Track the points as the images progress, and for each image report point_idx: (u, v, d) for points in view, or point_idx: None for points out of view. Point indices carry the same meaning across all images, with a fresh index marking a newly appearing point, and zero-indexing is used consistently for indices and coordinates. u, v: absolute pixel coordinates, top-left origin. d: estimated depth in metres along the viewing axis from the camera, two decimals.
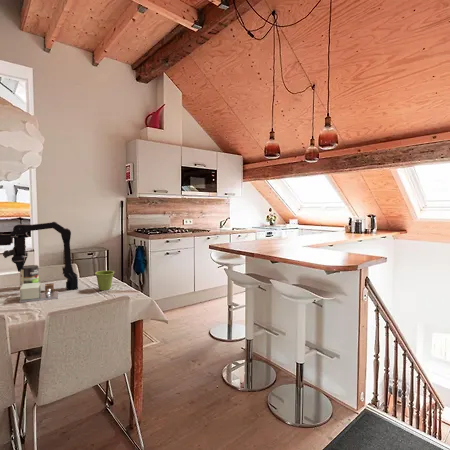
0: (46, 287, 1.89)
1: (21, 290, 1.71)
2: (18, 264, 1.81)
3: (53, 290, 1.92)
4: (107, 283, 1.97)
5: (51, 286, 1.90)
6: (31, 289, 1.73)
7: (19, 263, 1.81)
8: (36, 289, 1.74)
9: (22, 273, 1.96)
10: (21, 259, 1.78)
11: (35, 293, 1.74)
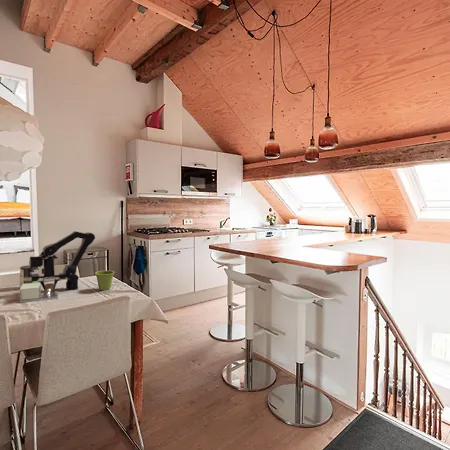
0: (46, 287, 1.89)
1: (21, 290, 1.71)
2: None
3: (53, 290, 1.92)
4: (107, 283, 1.97)
5: (51, 286, 1.90)
6: (31, 289, 1.73)
7: None
8: (36, 289, 1.74)
9: (22, 273, 1.96)
10: (31, 279, 1.85)
11: (35, 293, 1.74)
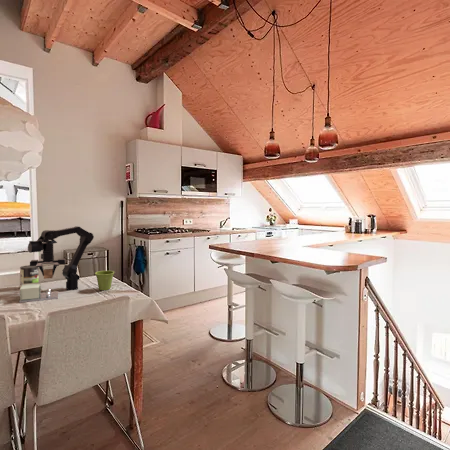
0: (44, 272, 1.85)
1: (21, 290, 1.71)
2: None
3: (52, 275, 1.88)
4: (107, 283, 1.97)
5: (50, 271, 1.86)
6: (31, 289, 1.73)
7: None
8: (36, 289, 1.74)
9: (22, 273, 1.96)
10: (30, 264, 1.82)
11: (35, 293, 1.74)
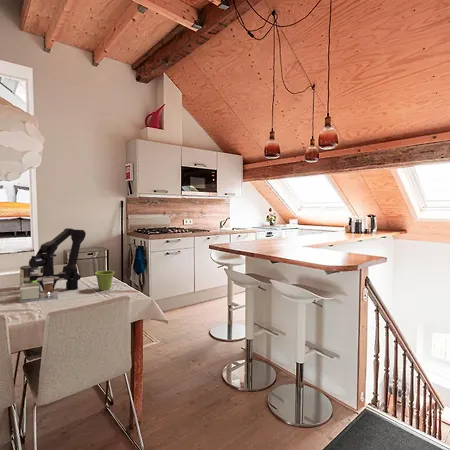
0: (44, 287, 1.80)
1: (21, 290, 1.71)
2: None
3: (52, 290, 1.83)
4: (107, 283, 1.97)
5: (50, 286, 1.81)
6: (31, 289, 1.73)
7: None
8: (36, 289, 1.74)
9: (22, 273, 1.96)
10: None
11: (35, 293, 1.74)
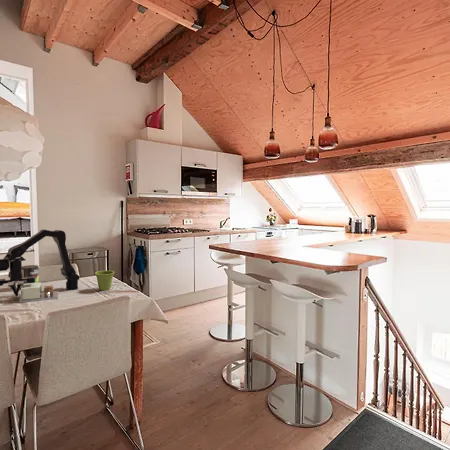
0: (45, 290, 1.80)
1: (22, 290, 1.71)
2: None
3: (52, 292, 1.83)
4: (107, 283, 1.97)
5: (50, 288, 1.81)
6: (32, 289, 1.73)
7: None
8: (37, 289, 1.74)
9: None
10: None
11: (36, 293, 1.74)
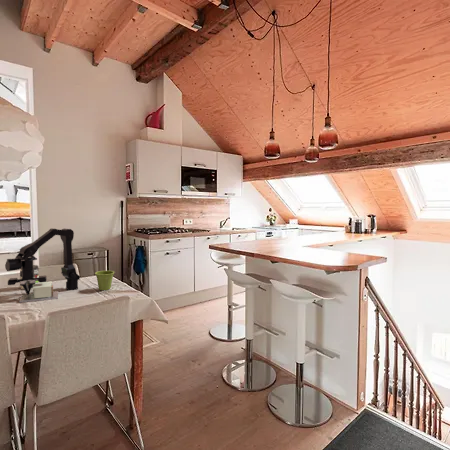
0: None
1: (34, 289, 1.74)
2: None
3: (52, 292, 1.83)
4: (107, 283, 1.97)
5: None
6: (44, 288, 1.76)
7: None
8: (48, 288, 1.77)
9: None
10: (8, 283, 1.72)
11: (47, 292, 1.77)
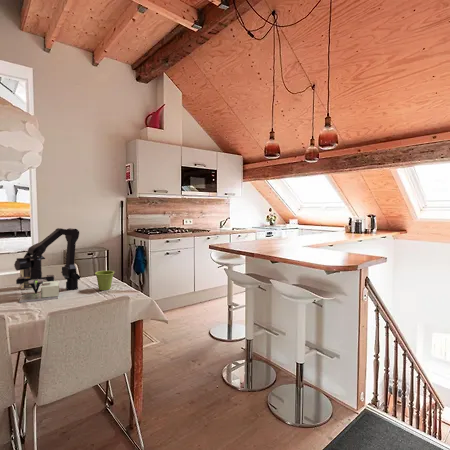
0: None
1: (42, 288, 1.76)
2: None
3: None
4: (107, 283, 1.97)
5: None
6: (51, 287, 1.78)
7: None
8: (56, 287, 1.79)
9: (22, 273, 1.96)
10: None
11: (55, 291, 1.79)
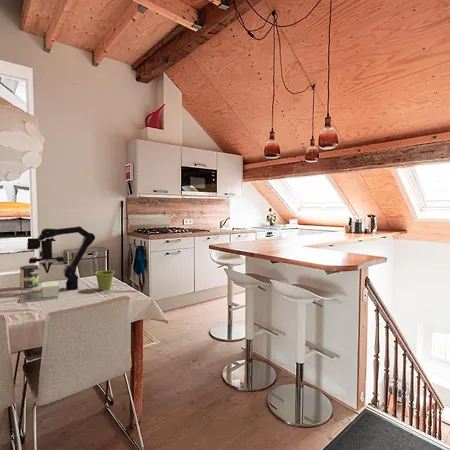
0: None
1: (42, 288, 1.76)
2: None
3: None
4: (107, 283, 1.97)
5: None
6: (51, 287, 1.78)
7: None
8: (56, 287, 1.79)
9: (22, 273, 1.96)
10: (29, 261, 1.85)
11: (55, 291, 1.79)
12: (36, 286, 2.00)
